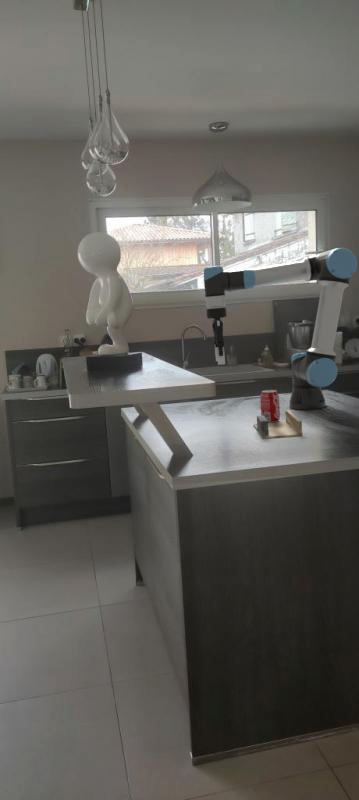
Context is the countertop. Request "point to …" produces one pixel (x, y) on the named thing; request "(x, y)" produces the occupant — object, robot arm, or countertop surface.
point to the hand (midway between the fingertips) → (220, 362)
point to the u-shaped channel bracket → (279, 427)
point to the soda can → (270, 405)
